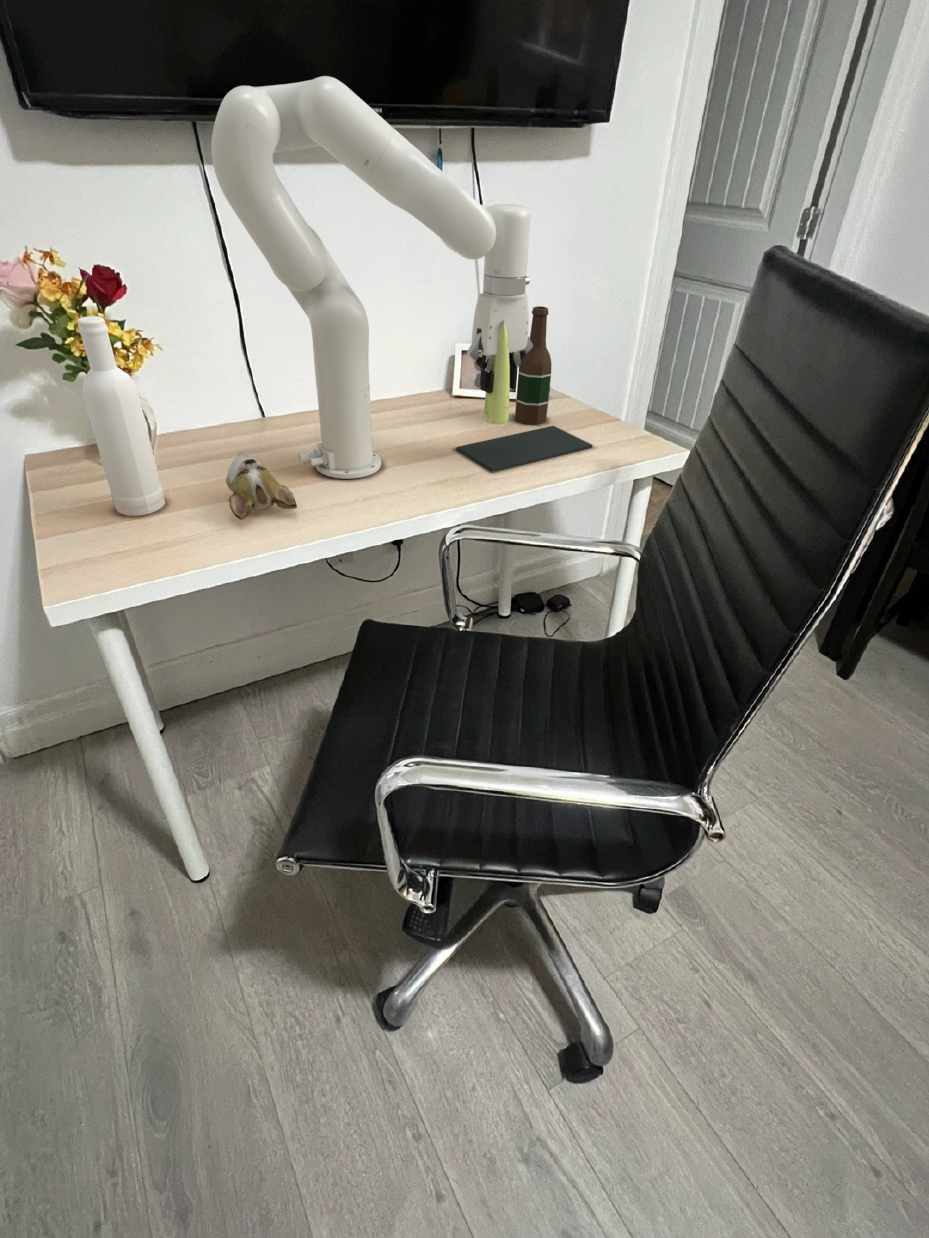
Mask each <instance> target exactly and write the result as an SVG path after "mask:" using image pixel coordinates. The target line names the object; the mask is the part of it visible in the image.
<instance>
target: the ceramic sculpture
mask: <svg viewBox="0 0 929 1238" xmlns="http://www.w3.org/2000/svg"><path fill="white" fill-rule="evenodd" d="M225 483H226V486H227V487H228V489H229V490H230V491H231V492H232V494H231V495H230V496H229V499H228V502H229V508H230V510H231V512H232V514H233V516H234V517H235V518H237V519H238V520H241V521H243V520H245V519H247V518H248V517H250V516H252V515H253V512H259V511H264V510H268V509H270V508H272V507H273V506H274V505H275V504H276V506H277V507H278V508H280V509H284V510H294V509H297V508H298V505H297V502H296V499H295V496H294V493H293V492H292V490H290V489H289V486H286V485H283V484H280V483H278V481H277V479H276V477H275V476H274V475H273V473H272V472H271V471H270V470H269V469H268V468H267V467H265V466H264V465H263V463H261V462H260V461H259V460H257V459H256V458H254V457H252V456H249V455H247V454H245V453H243V452H242V451H239V452H238V453H237V455H236V457H235V458H234V459H233V461H232V462H231V464H230V466H229V468H228V471H227V475H226V476H225Z"/></svg>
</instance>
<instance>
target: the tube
mask: <svg viewBox="0 0 929 1238" xmlns="http://www.w3.org/2000/svg"><path fill="white" fill-rule="evenodd" d="M504 324H505V321H504V320H503V325H502V326H501V329H500V334H499V345H498V352H497V354H496V355H495V357H494V361H493V365H492V369H491V371H492V372H493V373H494V379H493V392H492V393H487V392H485V398H484V409H483V421H484V422H485V423H488V424H491V425H504V424H506V423H508V421H509V416H510V415H509V414H510V394H511V393H510V389H511V388H510V364H509V350H508V337H507V330H506V327H505V325H504Z"/></svg>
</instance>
